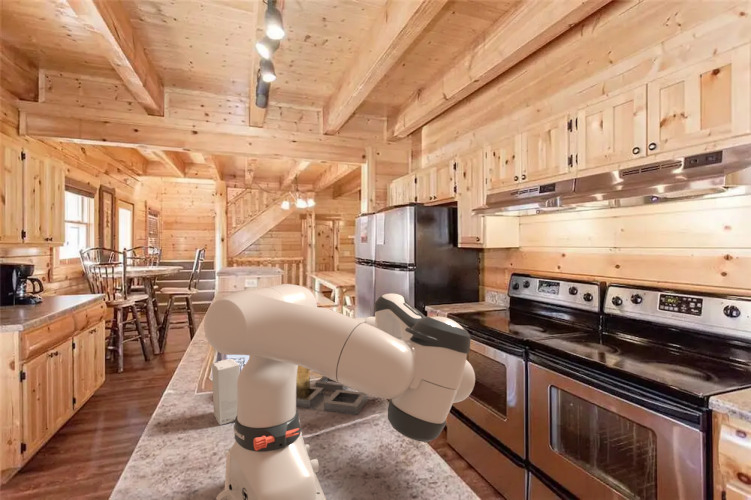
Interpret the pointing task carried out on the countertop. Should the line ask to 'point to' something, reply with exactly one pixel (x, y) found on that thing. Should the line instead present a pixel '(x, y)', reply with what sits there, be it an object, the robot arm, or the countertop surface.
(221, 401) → the skincare box
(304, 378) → the cylinder
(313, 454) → the countertop surface
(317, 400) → the fixture plate
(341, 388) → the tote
